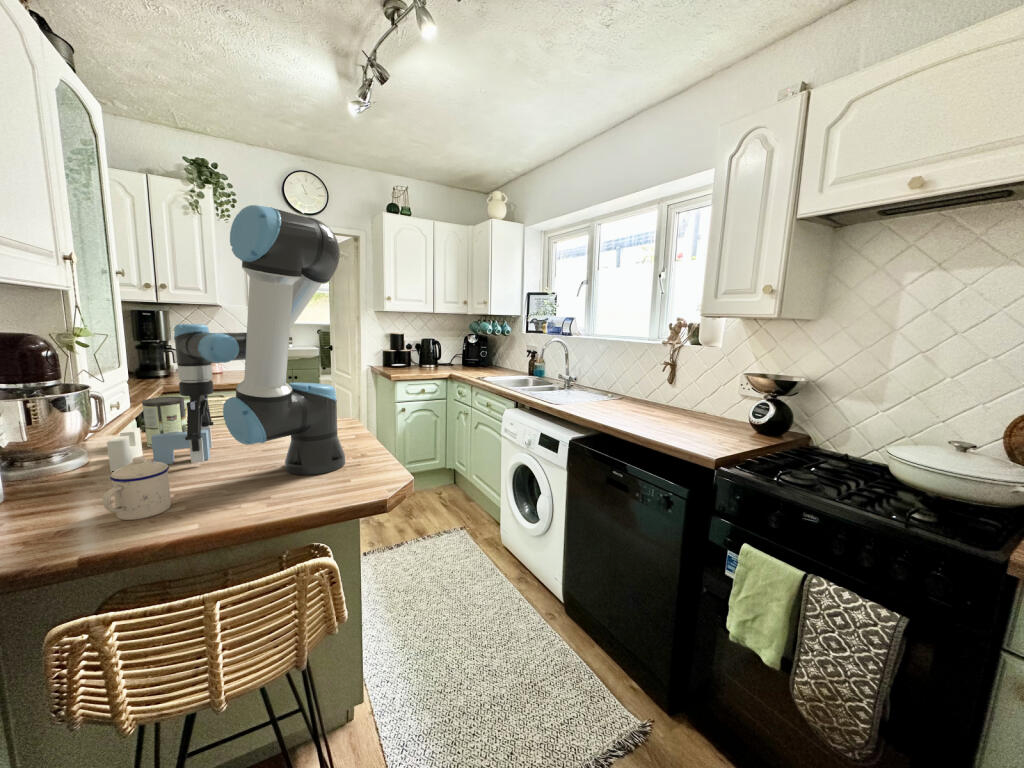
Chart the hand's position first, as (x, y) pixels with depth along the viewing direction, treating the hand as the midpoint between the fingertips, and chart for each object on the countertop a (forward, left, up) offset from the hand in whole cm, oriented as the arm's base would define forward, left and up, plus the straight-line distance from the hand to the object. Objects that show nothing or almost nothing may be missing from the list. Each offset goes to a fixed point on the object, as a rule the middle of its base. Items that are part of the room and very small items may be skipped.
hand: (202, 454), depth 120 cm
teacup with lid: (-35, +5, -1) cm, 36 cm away
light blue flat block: (0, +4, -1) cm, 5 cm away
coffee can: (+22, +12, -1) cm, 25 cm away
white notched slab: (+4, +17, -1) cm, 18 cm away
